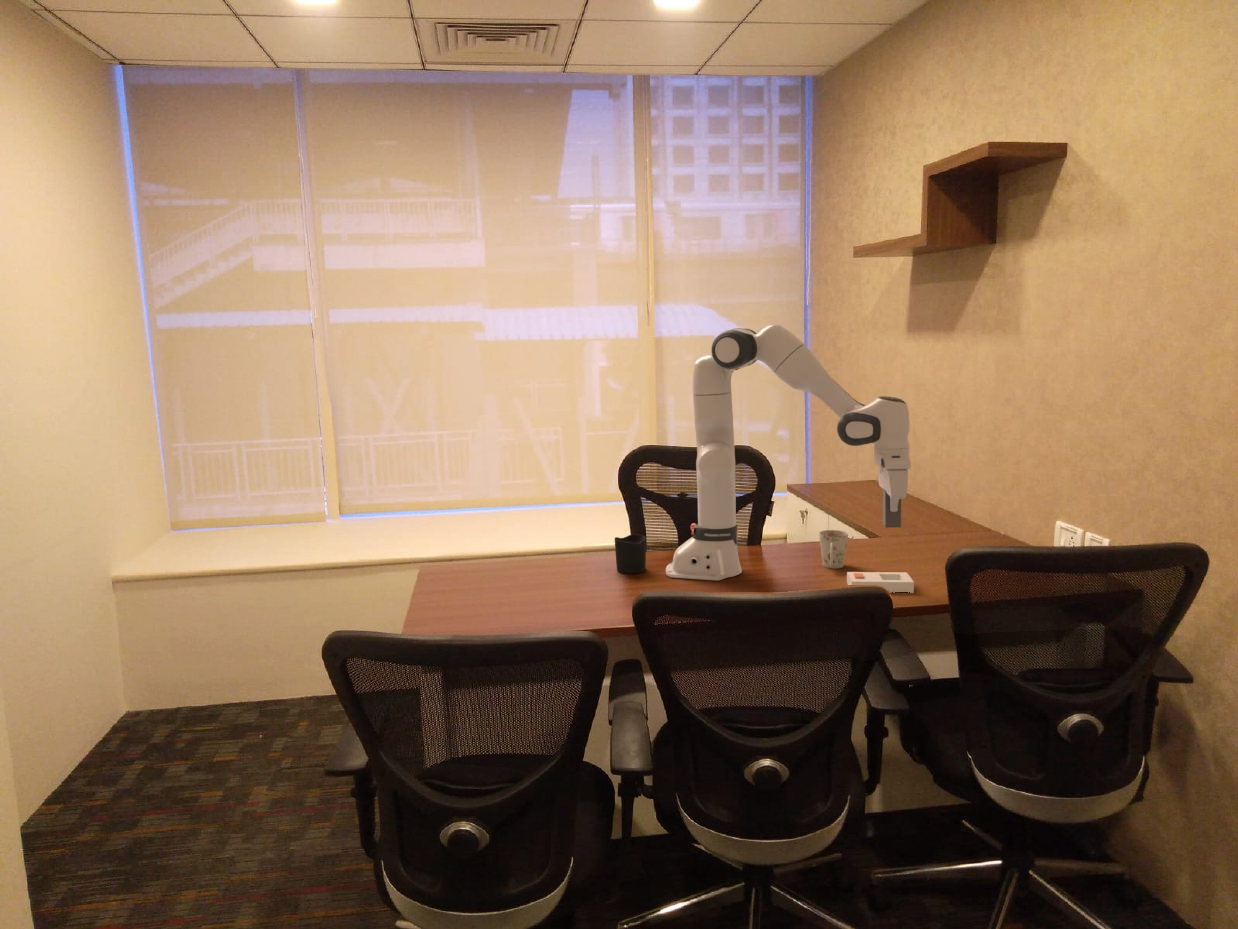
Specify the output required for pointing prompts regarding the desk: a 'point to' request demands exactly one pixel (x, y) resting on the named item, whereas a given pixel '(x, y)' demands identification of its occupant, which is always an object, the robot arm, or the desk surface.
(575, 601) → the desk surface
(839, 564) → the mug
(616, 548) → the pen holder
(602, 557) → the desk surface
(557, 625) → the desk surface
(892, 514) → the plug
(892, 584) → the power strip
